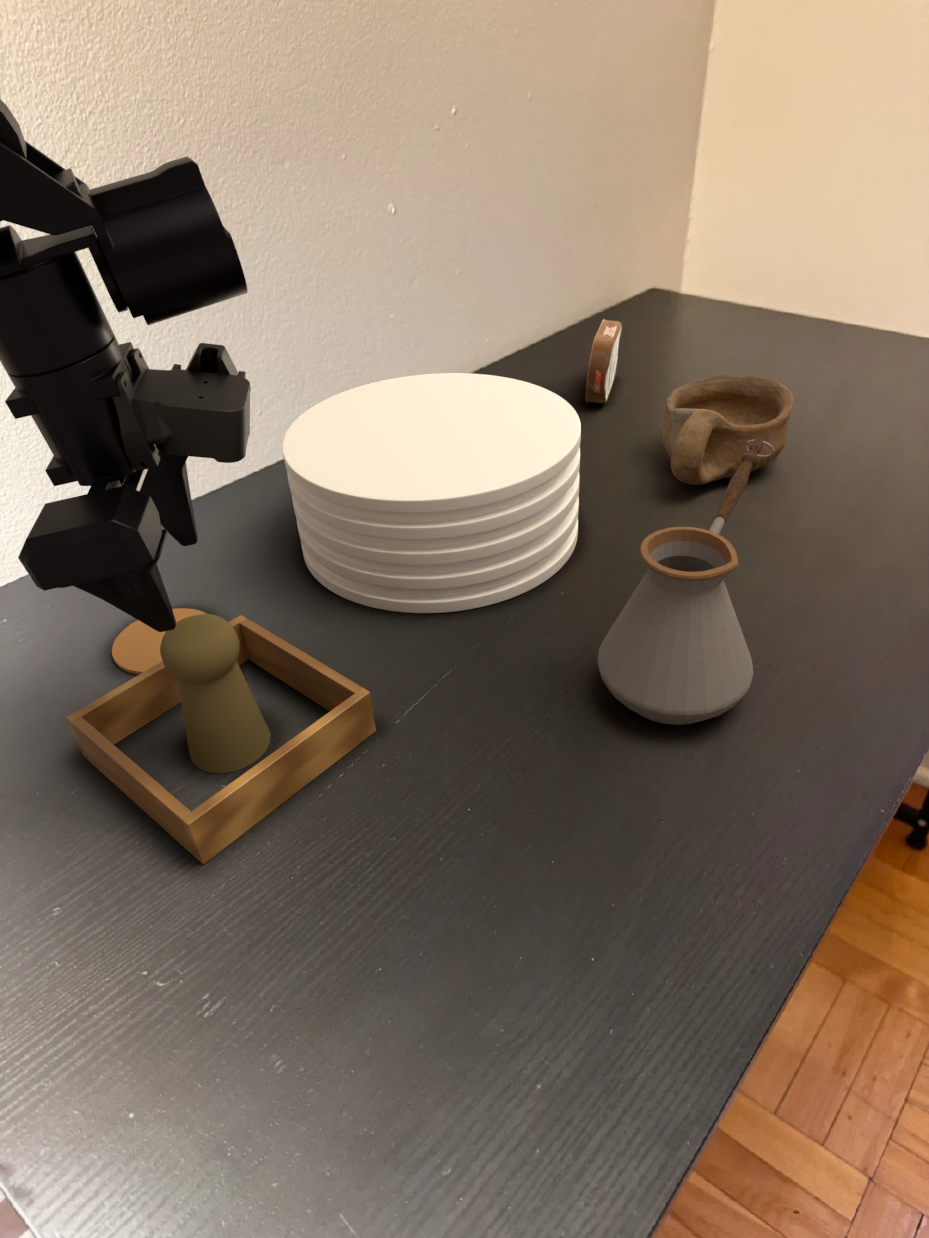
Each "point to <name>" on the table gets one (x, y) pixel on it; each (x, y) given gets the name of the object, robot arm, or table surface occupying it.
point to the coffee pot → (682, 623)
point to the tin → (603, 361)
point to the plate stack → (435, 490)
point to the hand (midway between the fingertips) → (180, 583)
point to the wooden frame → (257, 786)
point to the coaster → (143, 644)
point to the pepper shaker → (214, 694)
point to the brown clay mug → (723, 425)
